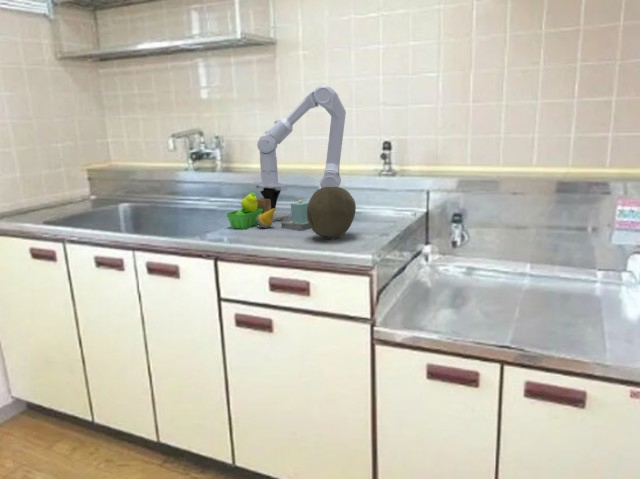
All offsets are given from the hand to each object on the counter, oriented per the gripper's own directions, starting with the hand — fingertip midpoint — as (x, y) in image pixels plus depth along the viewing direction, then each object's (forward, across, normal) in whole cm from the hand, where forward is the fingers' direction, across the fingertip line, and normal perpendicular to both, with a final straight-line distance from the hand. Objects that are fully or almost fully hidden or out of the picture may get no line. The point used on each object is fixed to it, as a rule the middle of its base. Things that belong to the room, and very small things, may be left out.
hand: (271, 210), depth 187 cm
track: (+3, 0, 0) cm, 3 cm away
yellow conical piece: (+4, +8, -10) cm, 13 cm away
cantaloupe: (+4, +36, -10) cm, 38 cm away
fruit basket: (+4, 0, -11) cm, 12 cm away
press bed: (+3, +17, -2) cm, 18 cm away
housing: (+2, +17, -2) cm, 17 cm away
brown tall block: (+2, 0, -4) cm, 4 cm away
